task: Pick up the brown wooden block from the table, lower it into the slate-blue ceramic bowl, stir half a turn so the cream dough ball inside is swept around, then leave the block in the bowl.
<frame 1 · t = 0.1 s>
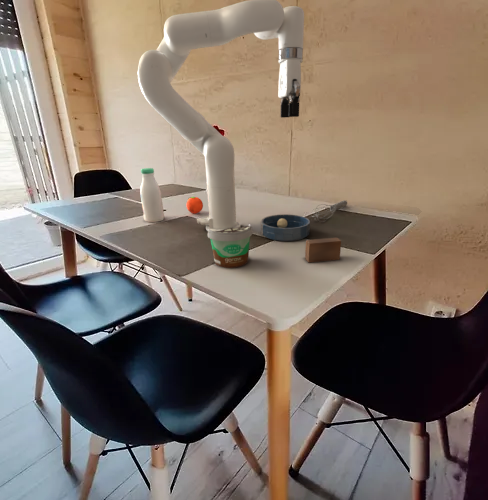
hand: (289, 117, 103), 37 cm above the table, tool pointing down, fingers open, 9 cm apart
food container: (235, 265, 84), on the table
kitchen whisk: (331, 214, 128), on the table
milk bottle: (154, 220, 125), on the table
clementine: (194, 213, 133), on the table
dough ball: (282, 223, 109), point 2 cm above the table, touching bowl
brown wooden block: (322, 259, 86), on the table
bowl: (285, 233, 106), on the table
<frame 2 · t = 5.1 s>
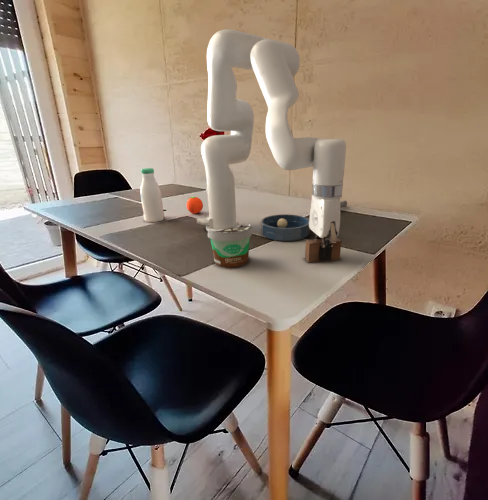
hand: (322, 256, 85), 1 cm above the table, tool pointing down, fingers closed on brown wooden block, 2 cm apart
brown wooden block: (322, 259, 86), on the table, touching gripper
everything else where it was.
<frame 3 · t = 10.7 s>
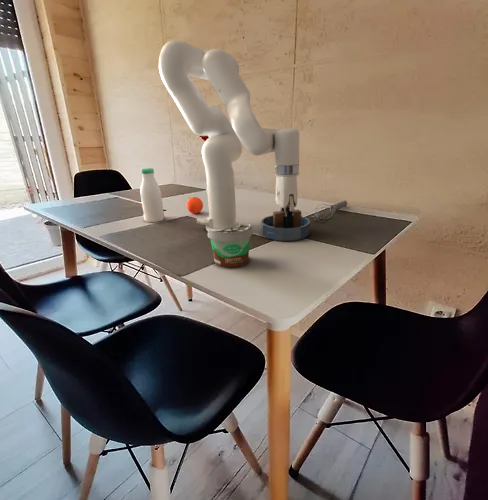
hand: (286, 225, 105), 3 cm above the table, tool pointing down, fingers closed on brown wooden block, 2 cm apart
dough ball: (282, 223, 109), point 2 cm above the table, touching bowl, gripper
brown wooden block: (287, 227, 105), point 2 cm above the table, touching gripper
everything else where it was.
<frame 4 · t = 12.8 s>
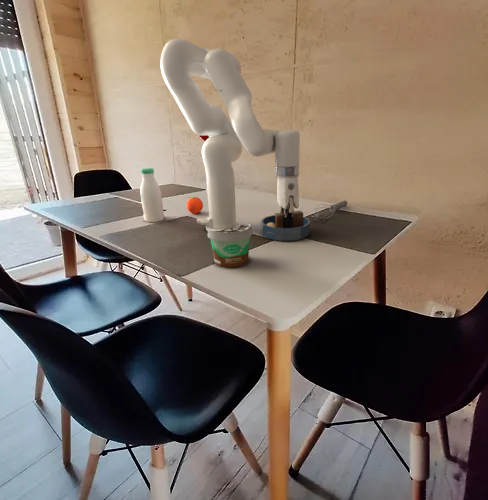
hand: (286, 226, 105), 3 cm above the table, tool pointing down, fingers closed on brown wooden block, 2 cm apart
dough ball: (270, 227, 105), point 2 cm above the table, tilted 109°, touching bowl, brown wooden block
brown wooden block: (289, 228, 105), point 2 cm above the table, touching dough ball, gripper
everything else where it was.
when the fingers open (3 cm above the table, at t = 12.9 s): brown wooden block drops 1 cm, resting on bowl.
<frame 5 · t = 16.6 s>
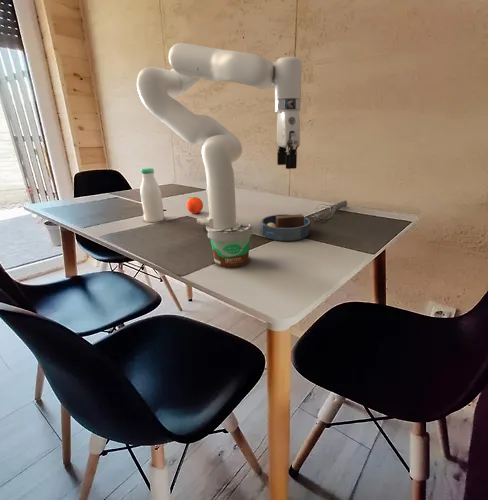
hand: (286, 166, 98), 22 cm above the table, tool pointing down, fingers open, 9 cm apart
dough ball: (271, 228, 104), point 2 cm above the table, tilted 99°, touching bowl
brown wooden block: (289, 231, 106), point 1 cm above the table, touching bowl
everything else where it was.
at the end: dough ball moved 6.2 cm from its start; dough ball inside the target area in the bowl (4.9 cm from its centre), point 2.4 cm above the bowl's base; brown wooden block inside the target area in the bowl (1.5 cm from its centre), point 0.6 cm above the bowl's base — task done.
